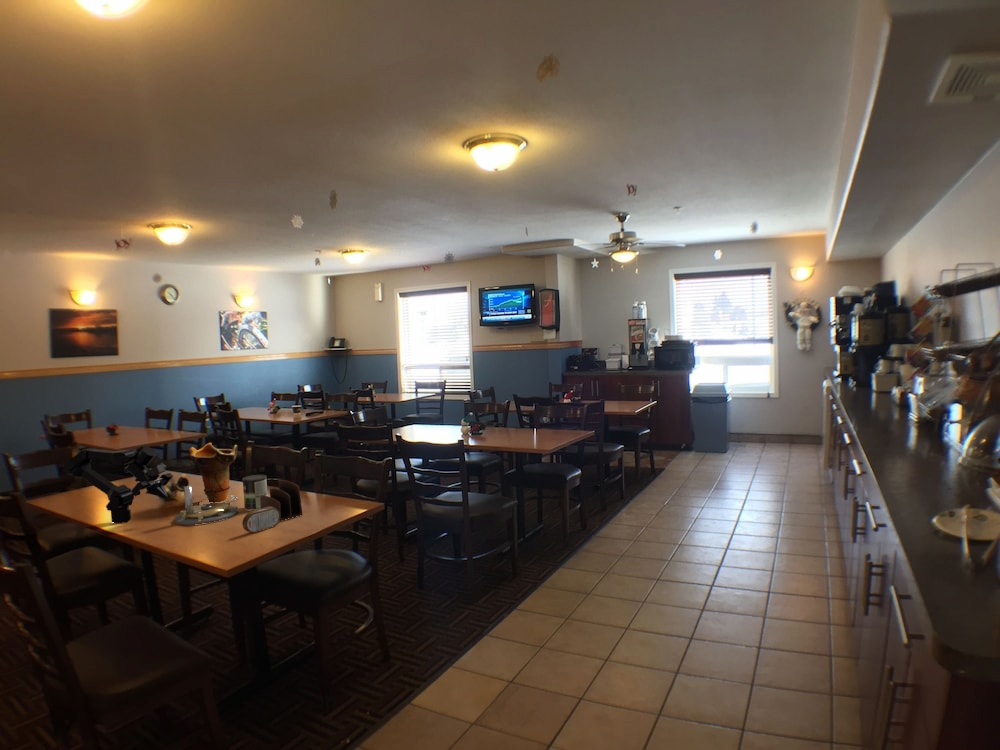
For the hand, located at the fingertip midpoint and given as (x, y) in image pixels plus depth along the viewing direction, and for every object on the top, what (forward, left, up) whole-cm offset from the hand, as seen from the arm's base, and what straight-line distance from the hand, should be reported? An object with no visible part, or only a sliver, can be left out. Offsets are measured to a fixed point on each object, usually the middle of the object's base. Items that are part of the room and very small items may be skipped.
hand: (166, 497), depth 254 cm
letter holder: (+45, -14, -11) cm, 49 cm away
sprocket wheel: (+15, 0, -9) cm, 17 cm away
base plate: (+15, 0, -11) cm, 18 cm away
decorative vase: (+17, +28, -11) cm, 34 cm away
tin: (+38, -33, -11) cm, 52 cm away
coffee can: (+35, +4, -11) cm, 37 cm away
